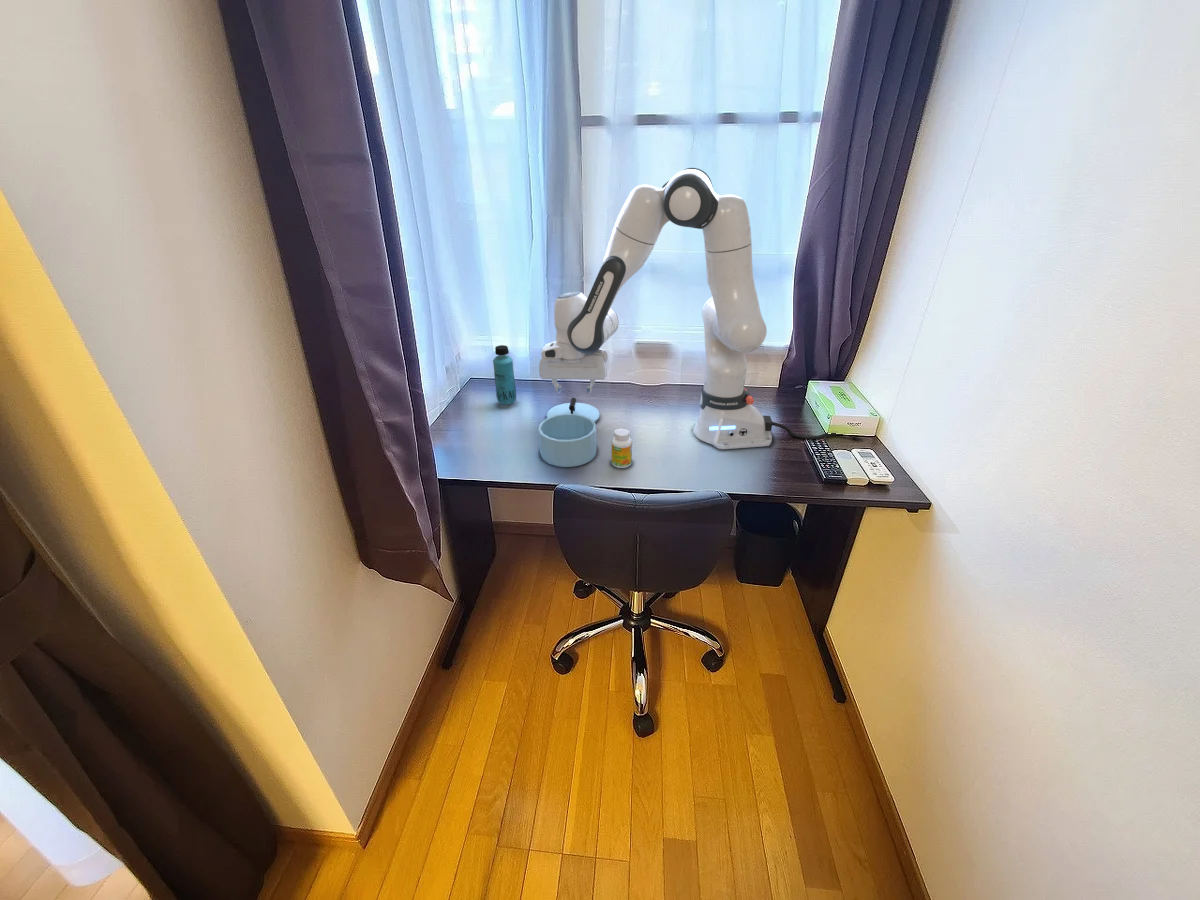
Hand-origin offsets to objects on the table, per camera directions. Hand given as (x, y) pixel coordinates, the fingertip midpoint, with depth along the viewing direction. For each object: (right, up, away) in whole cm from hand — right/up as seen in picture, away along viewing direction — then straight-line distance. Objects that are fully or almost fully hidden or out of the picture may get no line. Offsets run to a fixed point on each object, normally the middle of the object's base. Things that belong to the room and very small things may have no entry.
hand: (574, 391), depth 155 cm
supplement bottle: (+14, -22, -19) cm, 32 cm away
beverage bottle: (-23, -3, +13) cm, 26 cm away
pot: (-1, -19, -14) cm, 23 cm away
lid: (-1, -7, +4) cm, 8 cm away
